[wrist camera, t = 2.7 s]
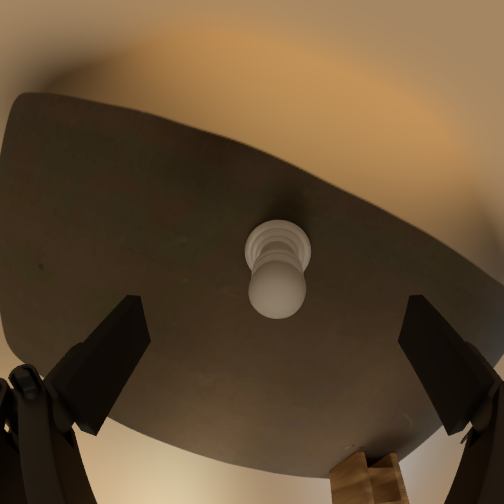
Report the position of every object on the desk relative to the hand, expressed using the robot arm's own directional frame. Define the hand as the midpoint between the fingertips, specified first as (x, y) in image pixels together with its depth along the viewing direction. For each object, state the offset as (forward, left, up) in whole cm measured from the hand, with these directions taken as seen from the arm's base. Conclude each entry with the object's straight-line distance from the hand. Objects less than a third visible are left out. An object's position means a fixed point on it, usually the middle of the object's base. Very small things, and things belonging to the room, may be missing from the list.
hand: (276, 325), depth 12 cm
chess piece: (0, 0, -11) cm, 11 cm away
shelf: (-16, +38, -11) cm, 43 cm away
